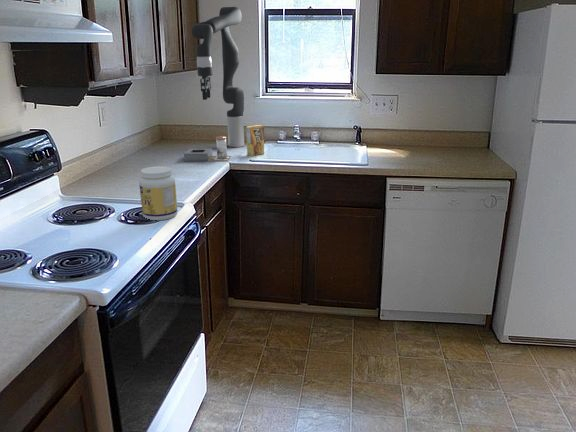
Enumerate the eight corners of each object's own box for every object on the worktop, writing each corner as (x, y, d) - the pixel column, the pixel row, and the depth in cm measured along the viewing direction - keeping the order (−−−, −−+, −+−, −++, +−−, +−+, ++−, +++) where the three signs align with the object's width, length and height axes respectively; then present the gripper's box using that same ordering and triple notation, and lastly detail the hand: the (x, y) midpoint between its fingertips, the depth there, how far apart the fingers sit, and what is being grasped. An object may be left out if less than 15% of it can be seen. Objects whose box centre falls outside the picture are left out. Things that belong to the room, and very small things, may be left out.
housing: (189, 156, 273) (189, 148, 272) (212, 156, 273) (211, 148, 271) (184, 161, 262) (183, 153, 261) (208, 161, 261) (207, 153, 260)
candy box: (260, 152, 284) (259, 124, 279) (264, 153, 281) (264, 125, 276) (246, 155, 279) (245, 126, 274) (251, 156, 276) (250, 127, 271)
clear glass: (217, 157, 269) (216, 135, 266) (228, 157, 269) (227, 135, 265) (216, 159, 264) (214, 137, 260) (226, 159, 264) (225, 137, 260)
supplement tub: (135, 217, 184) (130, 170, 178) (163, 208, 193) (158, 163, 187) (157, 224, 177) (152, 175, 171) (185, 214, 186) (181, 168, 180)
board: (190, 157, 274) (190, 155, 274) (231, 157, 273) (231, 155, 272) (184, 163, 262) (184, 161, 261) (227, 163, 261) (227, 161, 260)
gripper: (200, 65, 269) (202, 97, 274) (194, 66, 256) (196, 100, 261) (214, 65, 269) (216, 97, 274) (209, 66, 255) (211, 100, 261)
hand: (206, 98), depth 267 cm, fingers open, 8 cm apart
